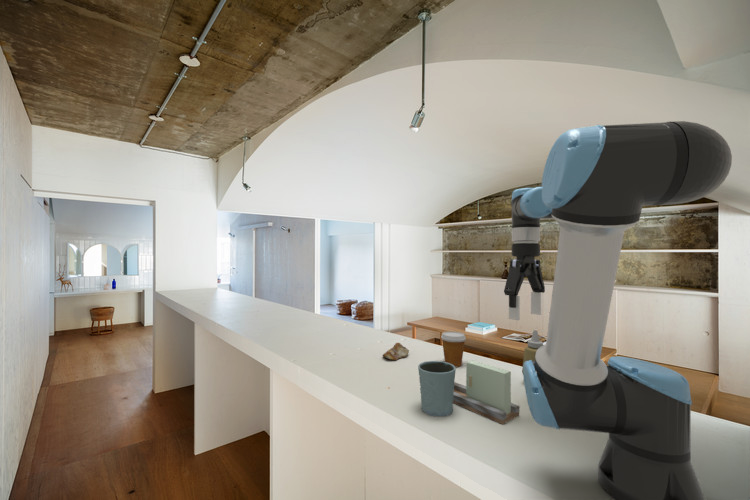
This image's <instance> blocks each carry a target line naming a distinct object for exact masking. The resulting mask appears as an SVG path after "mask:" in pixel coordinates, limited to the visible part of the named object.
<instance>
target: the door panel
mask: <svg viewBox="0 0 750 500" xmlns="http://www.w3.org/2000/svg"><path fill="white" fill-rule="evenodd" d="M465 369H466V372H465V373H466V375H465V381H466V382H465V383H466V384H465V386H466V397H468V398H471V399H473V400H476V401H478V402H481V403H483V404H486V405H488V406H491V407H493V408H496V409H498V410H501V411H504V412H506V415H508V414H509V413H511V403H512V401H511V400H512V396H511V395H512V393H511V391H512V388H511V387H512V384H511V382H512V380H511V379H512V378H511V377H512V373H511V372H512V371H510V370H507V369H505V368H500V367H497V366H494V365H490V364H486V363H483V362H480V361H476V360H469V361H466V365H465Z"/></svg>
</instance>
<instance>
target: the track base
mask: <svg viewBox="0 0 750 500" xmlns="http://www.w3.org/2000/svg"><path fill="white" fill-rule="evenodd" d="M453 392H454V394H453V396H454V397H453V404H454V405H457V406H459V407H462V408H463V409H465V410H468V411H470V412H473V413H475V414H478V415H479V416H481V417H485V418H486V419H489V420H492V421H494V422H496V423H499V424H501V425H504V424H507V423H508V422H510V421H512V420H513V419H515V418H517V417H519V416H520V405H519V404H518V405H517V404H515V403H512V402H511V413H509V414H508V415H506V412H504V411H501V410H498V409H496V408H493V407H491V406H488V405H486V404H483V403H481V402H478V401H476V400H473V399H471V398H468V397H466V385H464V384H462V383H461V384H460V383H457V382H456V381H454V391H453Z"/></svg>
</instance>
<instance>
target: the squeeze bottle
mask: <svg viewBox="0 0 750 500" xmlns="http://www.w3.org/2000/svg"><path fill="white" fill-rule="evenodd" d="M543 345H544V342H543V341H541V340H540V338H539V333H538V330H536V329H535V330H533V331H532V335H531V338H530V339H529V340H527V346H525V347H524V351H523V361H522V365H523V364H524V362H525V361H529V360H532V361H535V355H536V351H537V350H538V349H539V348H540V347H541V346H543ZM521 370H522V371H521V373H522V374H523V367H522V369H521Z"/></svg>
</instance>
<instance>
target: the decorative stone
mask: <svg viewBox="0 0 750 500" xmlns="http://www.w3.org/2000/svg"><path fill="white" fill-rule="evenodd" d="M409 352H410V350H409V349H408V348H407V347H406V346H404V345H402V344H401V342H395V344H394V345H393V346H392V347H391V348H390V349H388V350H387V351H385V352H384V353H383V354H382V357H384V358H385V359H388V360H391V361H397V360H399V359H402V358H406V357H407V356H408V354H409Z"/></svg>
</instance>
